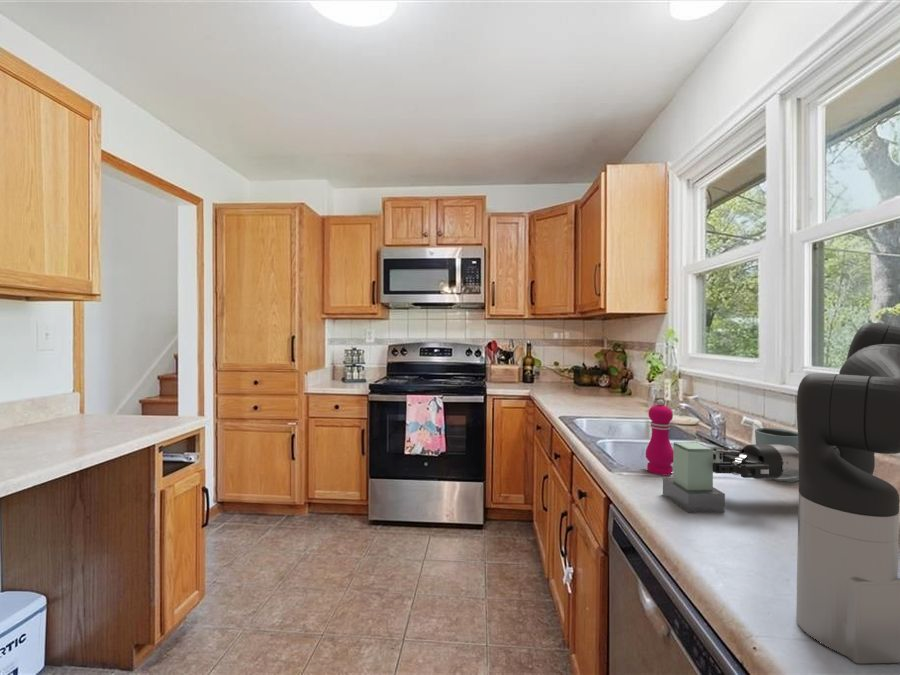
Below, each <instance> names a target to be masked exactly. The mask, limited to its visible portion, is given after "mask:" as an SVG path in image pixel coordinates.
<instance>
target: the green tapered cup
mask: <svg viewBox="0 0 900 675" xmlns="http://www.w3.org/2000/svg"><path fill="white" fill-rule="evenodd" d="M754 437H755V444H761V445H762V444H763V445H785V446H798V431H792V430H787V429H780V428H779V429H778V428H770V427H768V428H767V427H766V428H765V427H759V428H755V429H754ZM777 480H778V482H783V481H787V482H786V483H795V481H796V482H798V481H799V478H789V479H775V480H774V481H777ZM797 480H798V481H797Z"/></svg>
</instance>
